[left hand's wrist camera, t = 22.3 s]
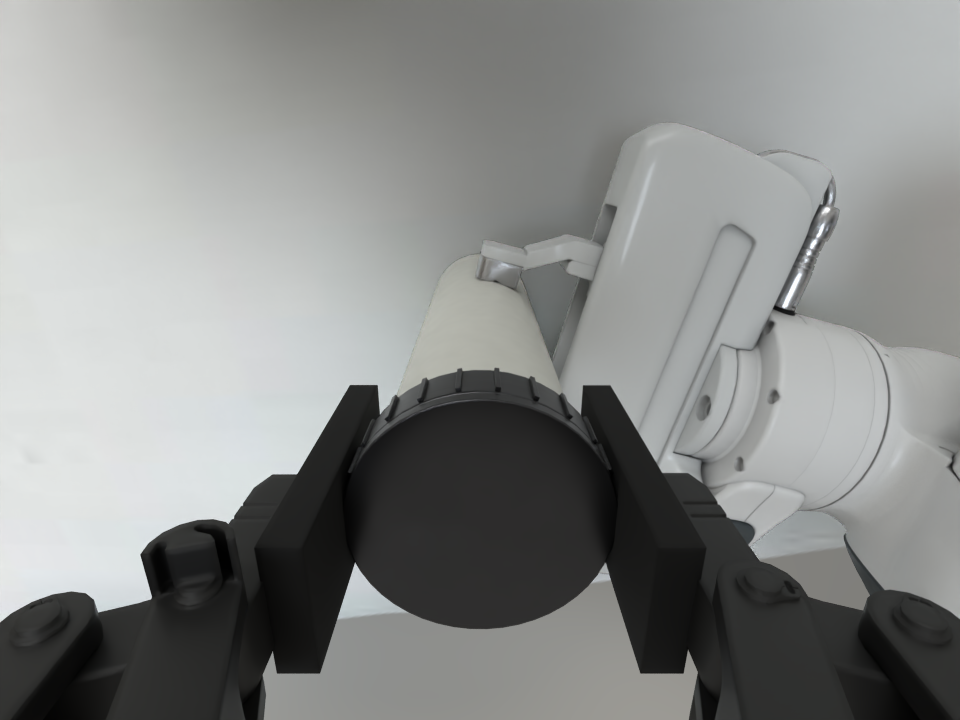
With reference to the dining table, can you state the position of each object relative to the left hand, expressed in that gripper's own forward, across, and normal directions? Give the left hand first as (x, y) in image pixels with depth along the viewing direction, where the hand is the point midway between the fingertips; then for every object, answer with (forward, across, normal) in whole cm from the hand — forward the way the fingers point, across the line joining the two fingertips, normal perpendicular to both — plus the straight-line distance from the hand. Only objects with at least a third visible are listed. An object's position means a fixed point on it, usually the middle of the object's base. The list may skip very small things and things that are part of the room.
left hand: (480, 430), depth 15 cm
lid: (-4, 0, 0) cm, 4 cm away
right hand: (+9, -1, 0) cm, 9 cm away
